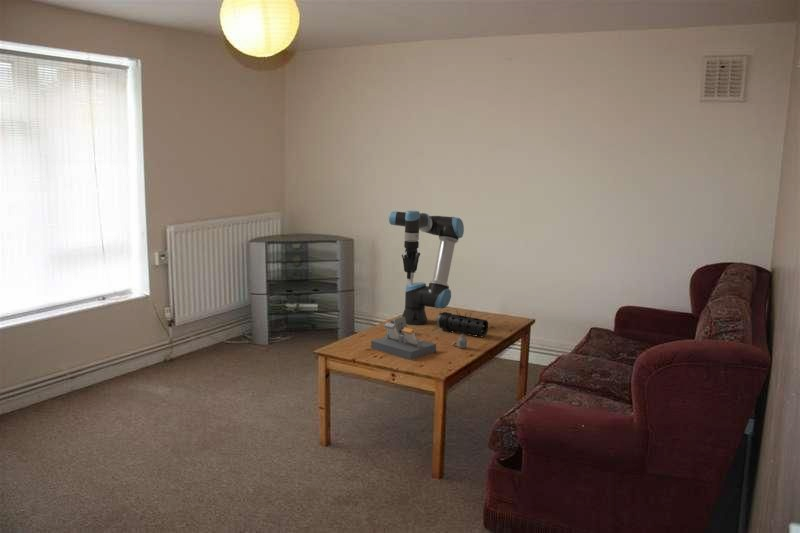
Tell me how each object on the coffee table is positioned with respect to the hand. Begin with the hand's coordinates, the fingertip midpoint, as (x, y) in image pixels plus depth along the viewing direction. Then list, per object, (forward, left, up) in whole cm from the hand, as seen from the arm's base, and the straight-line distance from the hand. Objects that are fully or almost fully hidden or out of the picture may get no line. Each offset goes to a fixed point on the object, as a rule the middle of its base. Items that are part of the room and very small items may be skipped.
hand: (409, 284), depth 353 cm
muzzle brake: (-30, +14, -30) cm, 44 cm away
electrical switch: (-3, -9, -30) cm, 31 cm away
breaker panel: (+18, +12, -29) cm, 37 cm away
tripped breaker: (+18, +18, -24) cm, 35 cm away
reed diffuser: (-6, +30, -30) cm, 43 cm away
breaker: (+18, +6, -24) cm, 31 cm away
